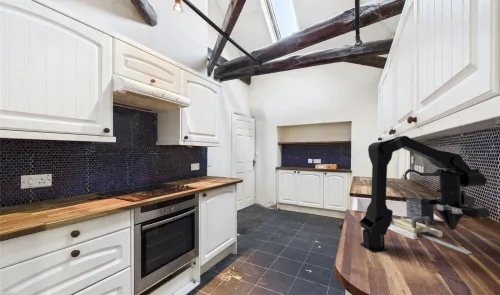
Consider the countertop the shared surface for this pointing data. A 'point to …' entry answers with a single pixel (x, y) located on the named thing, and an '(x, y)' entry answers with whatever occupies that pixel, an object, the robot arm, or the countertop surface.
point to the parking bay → (432, 231)
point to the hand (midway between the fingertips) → (452, 229)
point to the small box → (419, 210)
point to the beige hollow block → (414, 225)
